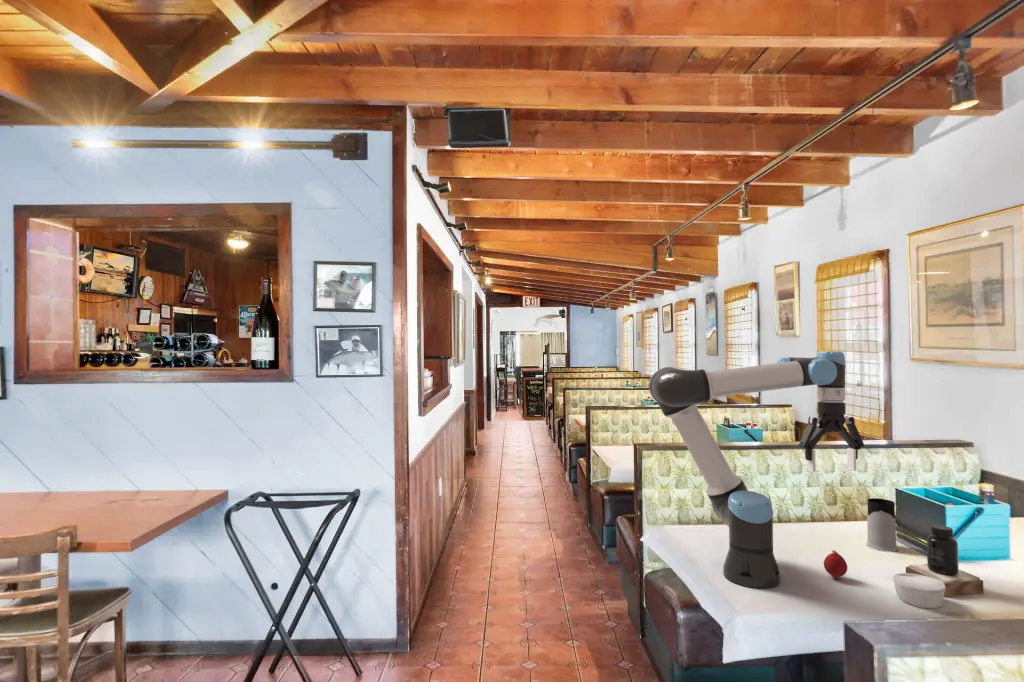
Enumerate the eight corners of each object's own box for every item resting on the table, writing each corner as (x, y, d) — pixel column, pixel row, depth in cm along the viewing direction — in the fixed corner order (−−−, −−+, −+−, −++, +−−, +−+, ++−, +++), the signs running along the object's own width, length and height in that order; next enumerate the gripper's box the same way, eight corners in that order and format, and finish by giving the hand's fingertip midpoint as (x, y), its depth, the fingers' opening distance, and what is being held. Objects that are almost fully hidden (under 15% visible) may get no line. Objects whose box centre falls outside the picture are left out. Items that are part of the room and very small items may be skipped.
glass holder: (866, 548, 185) (865, 502, 185) (866, 536, 197) (865, 493, 197) (898, 553, 180) (897, 506, 181) (896, 540, 192) (895, 496, 193)
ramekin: (923, 591, 152) (923, 571, 152) (958, 610, 141) (957, 589, 141) (883, 592, 152) (882, 572, 152) (914, 611, 141) (913, 590, 141)
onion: (845, 575, 163) (844, 548, 163) (849, 583, 158) (849, 554, 158) (822, 573, 165) (821, 545, 165) (826, 581, 160) (825, 552, 160)
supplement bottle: (965, 576, 152) (964, 531, 152) (939, 576, 152) (938, 531, 152) (946, 566, 159) (945, 523, 159) (921, 566, 159) (920, 523, 159)
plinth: (944, 597, 149) (944, 581, 149) (905, 579, 160) (905, 564, 160) (983, 593, 150) (983, 578, 151) (942, 575, 162) (942, 561, 162)
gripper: (801, 402, 169) (802, 474, 169) (877, 402, 172) (877, 471, 172) (786, 400, 176) (786, 468, 176) (858, 399, 180) (859, 466, 179)
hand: (831, 470), depth 174 cm, fingers open, 13 cm apart
